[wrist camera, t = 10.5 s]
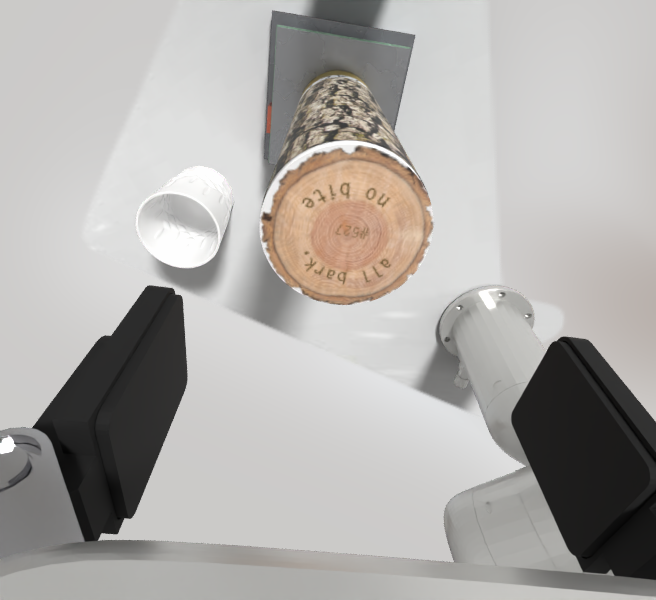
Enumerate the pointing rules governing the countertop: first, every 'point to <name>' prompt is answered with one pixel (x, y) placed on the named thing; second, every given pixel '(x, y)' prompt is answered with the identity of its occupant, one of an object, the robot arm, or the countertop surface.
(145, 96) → the countertop surface
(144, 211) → the white cup
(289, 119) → the stand
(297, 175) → the paper tube
